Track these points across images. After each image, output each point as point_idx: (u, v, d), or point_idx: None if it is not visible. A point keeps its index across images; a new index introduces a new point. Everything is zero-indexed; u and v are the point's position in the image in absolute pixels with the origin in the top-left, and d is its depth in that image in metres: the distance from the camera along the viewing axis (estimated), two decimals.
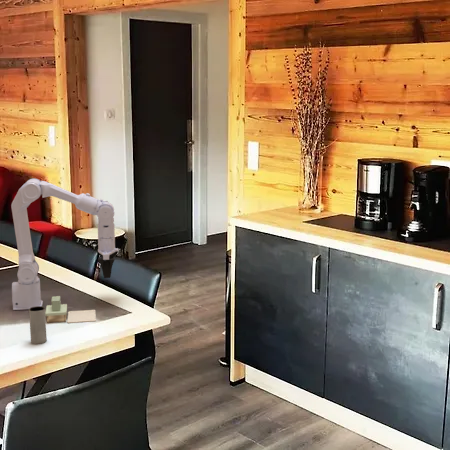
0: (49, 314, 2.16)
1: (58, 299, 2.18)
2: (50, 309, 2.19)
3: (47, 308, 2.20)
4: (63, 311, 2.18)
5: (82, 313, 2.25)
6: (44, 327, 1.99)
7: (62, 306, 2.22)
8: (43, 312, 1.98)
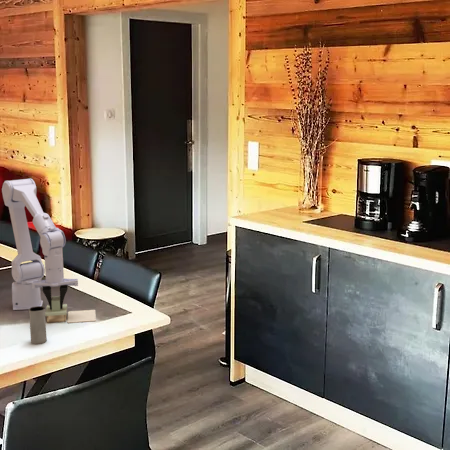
0: (49, 314, 2.16)
1: (58, 299, 2.18)
2: (50, 309, 2.19)
3: (47, 308, 2.20)
4: (63, 311, 2.18)
5: (82, 313, 2.25)
6: (44, 327, 1.99)
7: None
8: (43, 312, 1.98)
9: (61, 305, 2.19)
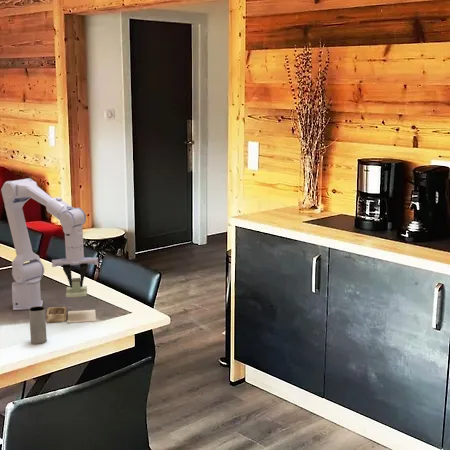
0: (69, 295, 2.16)
1: (78, 280, 2.19)
2: (70, 290, 2.20)
3: (67, 290, 2.21)
4: (83, 292, 2.18)
5: (82, 313, 2.25)
6: (44, 327, 1.99)
7: (82, 288, 2.23)
8: (43, 312, 1.98)
9: (81, 284, 2.19)
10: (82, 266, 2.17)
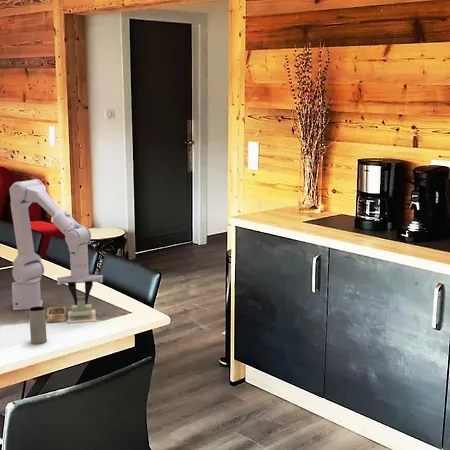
0: (75, 314, 2.17)
1: (83, 299, 2.20)
2: (75, 309, 2.21)
3: (72, 308, 2.22)
4: (88, 311, 2.19)
5: None
6: (44, 327, 1.99)
7: (87, 306, 2.24)
8: (43, 312, 1.98)
9: (86, 301, 2.20)
10: (87, 284, 2.19)
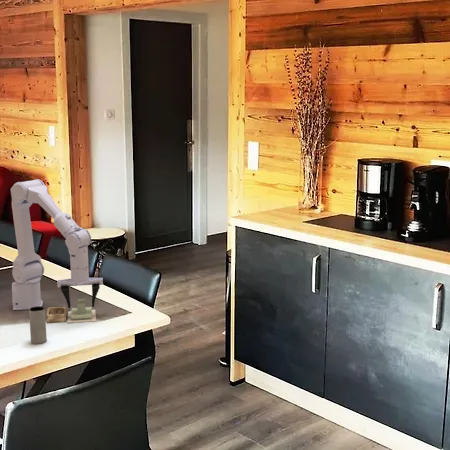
0: (75, 317, 2.18)
1: (83, 302, 2.20)
2: (75, 312, 2.21)
3: (72, 311, 2.22)
4: (88, 314, 2.19)
5: None
6: (44, 327, 1.99)
7: (87, 309, 2.24)
8: (43, 312, 1.98)
9: (93, 303, 2.21)
10: (94, 286, 2.19)
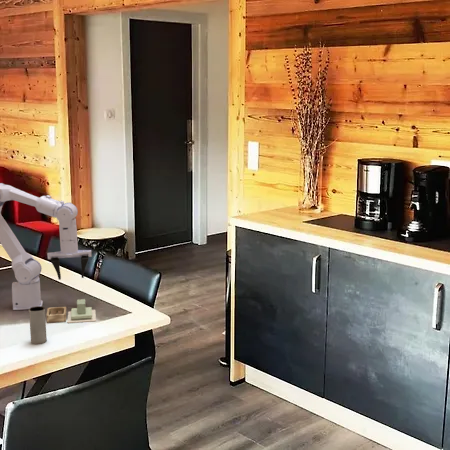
0: (75, 317, 2.18)
1: (83, 302, 2.20)
2: (75, 312, 2.21)
3: (72, 311, 2.22)
4: (88, 314, 2.19)
5: None
6: (44, 327, 1.99)
7: (87, 309, 2.24)
8: (43, 312, 1.98)
9: (82, 275, 2.29)
10: (83, 258, 2.28)
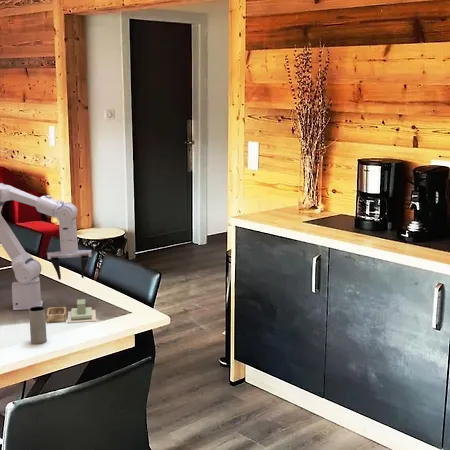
0: (75, 317, 2.18)
1: (83, 302, 2.20)
2: (75, 312, 2.21)
3: (72, 311, 2.22)
4: (88, 314, 2.19)
5: None
6: (44, 327, 1.99)
7: (87, 309, 2.24)
8: (43, 312, 1.98)
9: (82, 275, 2.29)
10: (83, 258, 2.28)
